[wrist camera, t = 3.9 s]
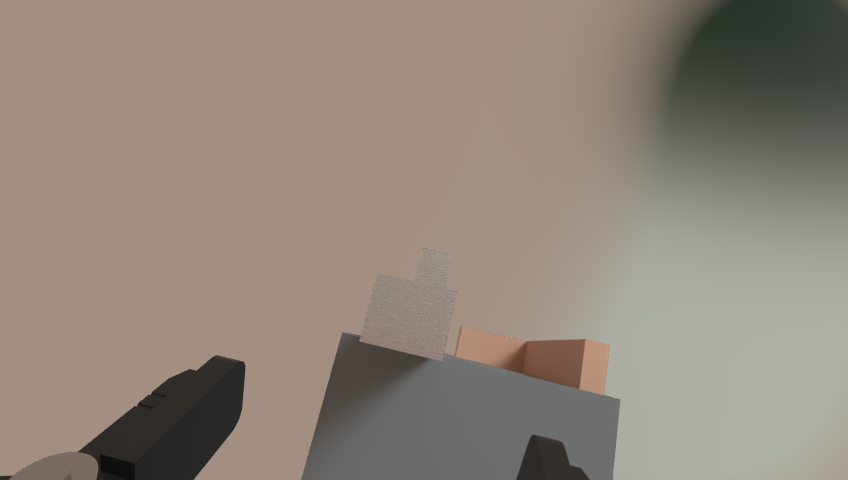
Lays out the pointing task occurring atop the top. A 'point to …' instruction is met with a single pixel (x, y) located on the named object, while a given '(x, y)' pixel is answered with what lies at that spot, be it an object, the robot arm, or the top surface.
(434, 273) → the aluminium bracket
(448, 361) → the charcoal stand
